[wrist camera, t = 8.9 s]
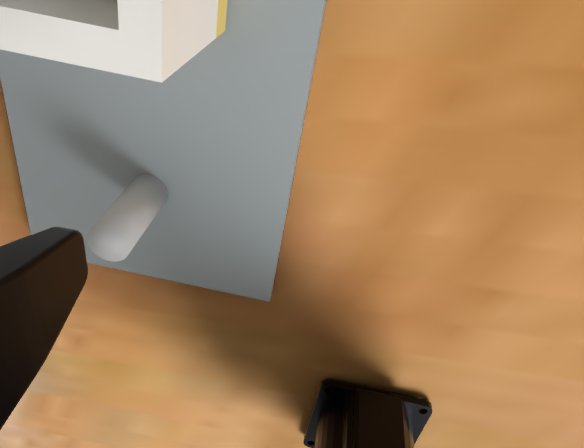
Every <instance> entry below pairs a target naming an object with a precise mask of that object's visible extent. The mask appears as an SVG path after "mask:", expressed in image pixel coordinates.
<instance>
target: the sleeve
mask: <svg viewBox="0 0 584 448" xmlns="http://www.w3.org/2000/svg"><path fill="white" fill-rule="evenodd" d="M227 1H228V0H0V49H1V50H6V51H11V52H15V53H20V54H25V55H30V56H35V57H40V58H45V59H49V60H54V61H59V62H64V63H69V64H74V65H78V66H83V67H88V68H93V69H98V70H103V71H108V72H112V73H117V74H122V75H127V76H132V77H137V78H142V79H146V80H151V81H156V82H161V83H162V82H163V81H164V80H166V79H167V78H168V77H169V76H171V75H172V74H173V73H174V72H175V71H177V70H178V69H179V68H180V67H182V66H183V65H184V64H185V63H186V62H188V61H189V60H190V59H191V58H193V57H194V56H195V55H196V54H197V53H199V52H200V51H201V50H202V49H204V48H205V47H206V46H207V45H208V44H210V43H211V42H212V41H213V40H215V39H216V38H217V37H218V36H219V35H221V34H222V33H223V32H224V31H225V27H226V14H227Z"/></svg>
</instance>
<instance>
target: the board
mask: <svg viewBox="0 0 584 448" xmlns="http://www.w3.org/2000/svg"><path fill="white" fill-rule="evenodd" d="M326 1H327V0H228V1H227V14H226V27H225V31H224V32H223V33H222V34H221V35H219V36H218V37H217V38H216V39H215V40H213V41H212V42H211V43H210V44H208V45H207V46H206V47H205V48H204V49H202V50H201V51H200V52H199V53H197V54H196V55H195V56H194V57H193V58H191V59H190V60H189V61H188V62H186V63H185V64H184V65H183V66H182V67H180V68H179V69H178V70H177V71H175V72H174V73H173V74H172V75H171V76H169V77H168V78H167V79H166V80H164V81H163V82H162V83H161V82H156V81H151V80H146V79H142V78H137V77H132V76H127V75H122V74H117V73H112V72H108V71H103V70H98V69H93V68H88V67H83V66H78V65H74V64H69V63H64V62H59V61H54V60H49V59H45V58H40V57H35V56H30V55H25V54H20V53H15V52H11V51H6V50H1V49H0V79H1V84H2V89H3V94H4V99H5V104H6V109H7V114H8V120H9V125H10V130H11V135H12V140H13V145H14V150H15V156H16V161H17V166H18V171H19V176H20V181H21V186H22V191H23V197H24V202H25V207H26V212H27V217H28V222H29V227H30V233H31V235H32V234H35V233H38V232H40V231H43V230H46V229H48V228H51V227H56V226H57V227H64V228H69V229H74V230H78V231H79V232H80V233H81V234H82V236H83V239H84V245H85V253H86V260H87V263H90V264H95V265H100V266H104V267H109V268H114V269H118V270H123V271H128V272H132V273H137V274H142V275H146V276H151V277H156V278H160V279H165V280H170V281H174V282H179V283H184V284H188V285H193V286H198V287H202V288H207V289H212V290H216V291H221V292H226V293H230V294H235V295H240V296H244V297H249V298H254V299H258V300H263V301H268V302H270V298H271V294H272V290H273V286H274V280H275V275H276V270H277V264H278V259H279V254H280V248H281V243H282V237H283V232H284V227H285V221H286V216H287V211H288V205H289V200H290V194H291V189H292V184H293V178H294V173H295V167H296V162H297V157H298V151H299V146H300V141H301V135H302V130H303V124H304V119H305V114H306V108H307V103H308V98H309V92H310V87H311V81H312V76H313V71H314V65H315V60H316V55H317V49H318V44H319V38H320V33H321V28H322V22H323V17H324V12H325V6H326Z"/></svg>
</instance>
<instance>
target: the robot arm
mask: <svg viewBox="0 0 584 448" xmlns="http://www.w3.org/2000/svg"><path fill="white" fill-rule="evenodd" d="M87 274H88V267H87V260H86V253H85V245H84V239H83V236H82V234H81V233H80V232H79V231H78V230H74V229H69V228H64V227H57V226H56V227H51V228H48V229H46V230H43V231H40V232H38V233H35V234H32V235H30V236H27V237H24V238H22V239H19V240H16V241H14V242H11V243H8V244H6V245H3V246H0V430H1V428H2V426H3V425H4V423H5V422H6V420H7V419H8V417H9V416H10V414H11V413H12V411H13V410H14V408H15V407H16V405H17V404H18V402H19V401H20V399H21V398H22V396H23V395H24V393H25V392H26V390H27V388H28V387H29V385H30V384H31V382H32V381H33V379H34V378H35V376H36V375H37V373H38V372H39V370H40V368H41V367H42V365H43V364H44V362H45V360H46V358H47V356H48V355H49V353H50V351H51V349H52V347H53V345H54V343H55V341H56V339H57V337H58V336H59V334H60V332H61V330H62V328H63V326H64V324H65V322H66V320H67V318H68V316H69V314H70V312H71V310H72V308H73V306H74V304H75V302H76V300H77V298H78V296H79V294H80V292H81V291H82V289H83V287H84V285H85V282H86V279H87ZM431 414H432V405H431V403H430V402H429V401H426V400H423V399H418V398H413V397H409V396H404V395H400V394H395V393H390V392H386V391H381V390H377V389H372V388H367V387H363V386H358V385H354V384H349V383H344V382H340V381H335V380H330V379H327V380H323V381H322V382H321V384H320V387H319V391H318V394H317V397H316V400H315V403H314V407H313V410H312V413H311V416H310V419H309V423H308V426H307V429H306V432H305V435H304V444H305V445H306V446H307V447H310V448H414V444H415V442H416V440H417V439H418V437H419V435H420V433H421V432H422V430H423V428H424V426H425V424H426V423H427V421H428V419H429V417H430V416H431Z"/></svg>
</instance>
